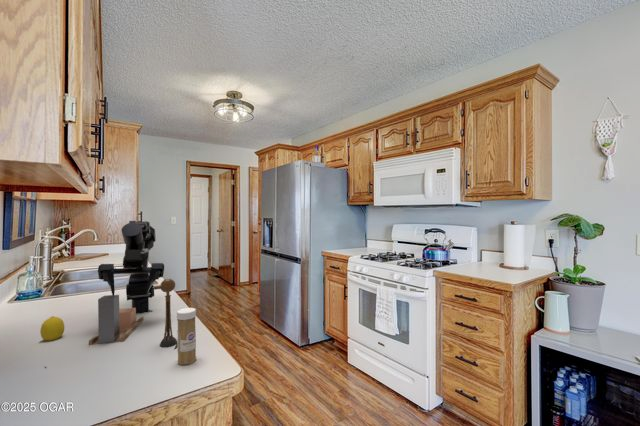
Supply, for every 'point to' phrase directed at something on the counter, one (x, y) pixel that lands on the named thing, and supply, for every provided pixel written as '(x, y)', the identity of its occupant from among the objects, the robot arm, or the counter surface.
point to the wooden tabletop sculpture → (167, 314)
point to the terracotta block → (127, 317)
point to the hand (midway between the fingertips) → (130, 294)
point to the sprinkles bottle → (186, 336)
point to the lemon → (52, 328)
